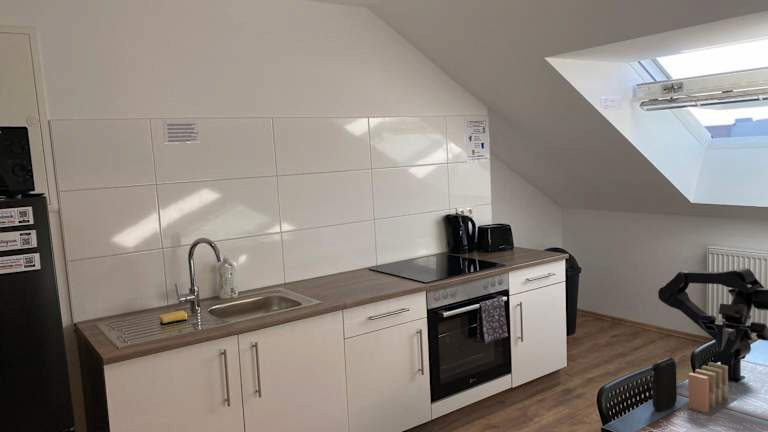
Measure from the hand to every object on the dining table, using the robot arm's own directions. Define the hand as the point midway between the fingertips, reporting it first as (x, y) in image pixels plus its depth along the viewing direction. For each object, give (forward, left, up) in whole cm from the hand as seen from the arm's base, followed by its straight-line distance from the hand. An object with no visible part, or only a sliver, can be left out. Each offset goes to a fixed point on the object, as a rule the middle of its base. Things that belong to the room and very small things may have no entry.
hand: (725, 350), depth 179 cm
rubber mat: (+10, 0, -14) cm, 17 cm away
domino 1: (+16, 0, -13) cm, 21 cm away
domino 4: (+4, 0, -13) cm, 14 cm away
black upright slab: (+22, -8, -14) cm, 27 cm away
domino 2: (+12, 0, -13) cm, 18 cm away
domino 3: (+8, 0, -13) cm, 16 cm away
